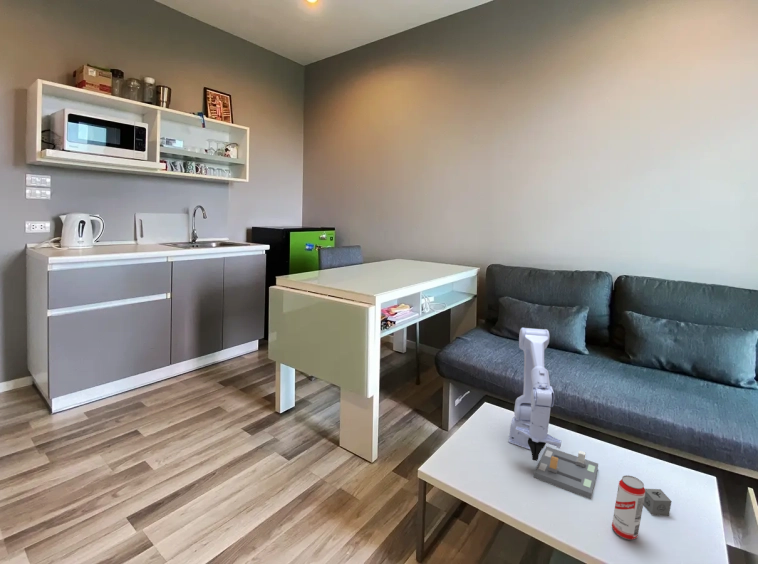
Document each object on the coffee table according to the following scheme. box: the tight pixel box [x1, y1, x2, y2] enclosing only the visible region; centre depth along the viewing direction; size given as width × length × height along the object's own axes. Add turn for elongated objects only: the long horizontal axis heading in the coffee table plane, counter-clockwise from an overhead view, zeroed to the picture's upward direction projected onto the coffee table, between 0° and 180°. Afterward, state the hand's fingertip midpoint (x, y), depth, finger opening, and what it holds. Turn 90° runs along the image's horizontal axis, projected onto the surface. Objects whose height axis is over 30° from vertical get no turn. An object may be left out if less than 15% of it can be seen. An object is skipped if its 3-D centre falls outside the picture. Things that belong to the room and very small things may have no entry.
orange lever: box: [548, 456, 559, 473], centre depth 135 cm, size 3×2×4 cm
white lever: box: [576, 450, 586, 468], centre depth 138 cm, size 3×2×4 cm
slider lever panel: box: [533, 445, 599, 500], centre depth 137 cm, size 17×18×2 cm
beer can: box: [611, 475, 646, 541], centre depth 111 cm, size 6×6×16 cm
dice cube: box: [643, 488, 672, 517], centre depth 121 cm, size 5×5×5 cm
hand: (535, 459), depth 138 cm, fingers closed
